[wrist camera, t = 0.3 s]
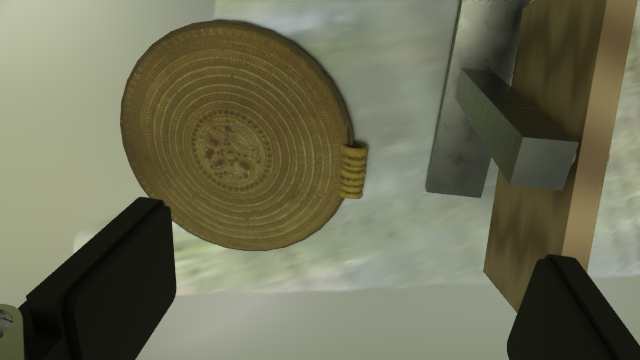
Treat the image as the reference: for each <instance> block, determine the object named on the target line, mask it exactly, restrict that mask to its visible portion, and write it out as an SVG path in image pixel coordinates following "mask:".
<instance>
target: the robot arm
mask: <svg viewBox="0 0 640 360" xmlns="http://www.w3.org/2000/svg"><path fill="white" fill-rule="evenodd" d="M175 295H176V274H175V260H174V246H173V232H172V217H171V209H170V207H169V206H165V203H164V201H163V200H161V199H154V198H146V197H139V198H137V199H136V200H135V201H134V202H133V203H132V204H130V205H129V206H128V207H127V208H126V209H125V210H124V211H122V212H121V213H120V214H119V215H118V216H117V217H116V218H114V219H113V220H112V221H111V222H110V223H109V224H108V225H106V226H105V227H104V228H103V229H102V230H101V231H100V232H98V233H97V234H96V235H95V236H94V237H93V238H92V239H90V240H89V241H88V242H87V243H86V244H85V245H84V246H82V247H81V248H80V249H79V250H78V251H77V252H76V253H74V254H73V255H72V256H71V257H70V258H69V259H68V260H67V261H65V262H64V263H63V264H62V265H61V266H60V267H59V268H58V269H56V270H55V271H54V272H53V273H52V274H51V275H50V276H48V277H47V278H46V279H45V280H44V281H43V282H42V283H40V285H38V286H37V287H36V288H35V289H34V290H32V291H31V292H30V293H29V294H28V295H27V296H26V298H27V301H25V302H24V303H23V304H22V305H21V306H20V307H19V308H18V309H17V308H16V307H14V306H10V305H7V304H0V360H135V359H136V358H137V356H138V354H139V353H140V351H141V350H142V348H143V347H144V345H145V344H146V342H147V341H148V339H149V338H150V336H151V335H152V333H153V332H154V330H155V328H156V327H157V325H158V324H159V322H160V321H161V319H162V317H163V316H164V315H165V313H166V312H167V310H168V309H169V307H170V305H171V304H172V302H173V300H174V298H175ZM507 353H508V357H509V360H640V346H639V344H638V343H637V341H636V340H635V339H634V337H633V336H632V334H631V333H630V332H629V330H628V329H627V328H626V326H625V325H624V324H623V322H622V321H621V319H620V318H619V317H618V315H617V314H616V313H615V311H614V310H613V308H612V307H611V306H610V304H609V303H608V301H607V300H606V299H605V298H604V296H603V295H602V293H601V292H600V290H599V289H598V288H597V286H596V285H595V284H594V282H593V281H592V279H591V278H590V277H589V275H588V274H587V273H586V271H585V270H584V268H583V267H582V266H581V264H580V263H579V262H578V260H577V259H576V258H574V257H568V256H561V255H554V254H548V255H546V257H545V258H544V259H538V260H537V262H536V264H535V267H534V270H533V272H532V275H531V278H530V280H529V283H528V286H527V289H526V291H525V294H524V297H523V300H522V302H521V305H520V308H519V311H518V313H517V316H516V319H515V321H514V324H513V327H512V330H511V333H510V335H509V338H508V341H507Z"/></svg>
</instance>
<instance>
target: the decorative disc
mask: <svg viewBox="0 0 640 360" xmlns="http://www.w3.org/2000/svg"><path fill="white" fill-rule="evenodd" d="M120 127H121V134H122V141H123V146H124V149H125V152H126V155H127V158H128V161H129V164H130V166H131V169H132V170H133V173H134V175H135V177H136V178H137V180H138V182H139V184H140V186H141V187H142V189H143V190H144V191H145V192H146V194H147V195H148V196H149V198H154V199H161V200H163V201H164V203H165V206H169V207H170V209H171V217H172V221H173V222H175V223H176V224H178V225H179V226H180V227H182V228H183V229H184V230H186V231H187V232H189V233H191V234H193V235H194V236H196V237H199V238H201V239H203V240H205V241H207V242H210V243H213V244H216V245H219V246H222V247H225V248H230V249H236V250H243V251H268V250H273V249H279V248H284V247H287V246H290V245H292V244H295V243H297V242H300V241H303V240H305V239H306V238H308V237H309V236H311V235H312V234H314V233H315V232H317V231H318V230H320V229H321V228H322V227H323V226H324V225H325V224H326V223H327V222H328V221H329V220H330V219H331V218H332V217H333V216H334V215H335V213H336V212H337V210H338V208H339V207H340V205H341V204H342V202H343V200H344V199H345V198H349V199H360V198H361V197H362V196H363V193H362V189H363V188H364V186H363V183H364V176H365V174H366V171H365V167H366V162H367V158H366V156H367V154H368V147H367V146H366V145H365V144H362V143H359V142H354V139H353V129H352V126H351V123H350V120H349V116H348V113H347V110H346V106H345V105H344V103H343V101H342V99H341V97H340V95H339V93H338V91H337V90H336V88H335V86H334V84H333V82H332V81H331V80H330V79H329V78H328V76H327V75H326V74H325V73H324V71H323V70H322V69H321V68H320V66H319V65H318V64H317V63H316V62H315V61H314V60H313V59H312V58H311V57H309V56H308V55H307V54H306V53H305V52H303V51H302V50H301V49H300V48H299V47H297V46H296V45H295V44H294V43H292V42H290V41H288V40H286V39H284V38H283V37H281V36H279V35H277V34H275V33H274V32H272V31H270V30H267V29H263V28H260V27H257V26H254V25H251V24H248V23H245V22H234V21H224V20H214V21H206V22H199V23H192V24H190V25H187V26H184V27H182V28H179V29H176V30H174V31H171V32H170V33H168V34H167V35H165V36H164V37H162V38H161V39H159V40H158V41H156V42H155V43H154V44H152V45H151V46H150V47H149V49H148V50H147V51H146V52H145V53H144V54H143V55H142V56H141V58H140V59H139V60H138V61H137V63H136V65H135V67H134V68H133V70H132V72H131V74H130V76H129V78H128V80H127V83H126V87H125V90H124V94H123V98H122V102H121V117H120Z"/></svg>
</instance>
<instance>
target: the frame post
mask: <svg viewBox="0 0 640 360" xmlns="http://www.w3.org/2000/svg"><path fill="white" fill-rule="evenodd" d="M529 4H530V0H460V3H459V8H458V14H457V19H456V24H455V30H454V35H453V41H452V46H451V51H450V57H449V62H448V68H447V73H446V78H445V84H444V89H443V94H442V100H441V105H440V111H439V116H438V121H437V127H436V132H435V138H434V143H433V148H432V154H431V159H430V165H429V170H428V175H427V181H426V191H427V192H431V193H440V194H450V195H459V196H468V197H478V198H481V195H482V191H483V187H484V183H485V179H486V175H487V171H488V167H489V163H490V159H491V156H492V158H493V159H494V161H495V162H496V164H497V166H498V167H499V169H500V170H501V172H502V174H503V175H504V177H505V178H506V180H507V181H508V183H509V185H515V186H524V187H534V188H544V189H553V190H563V188H564V185H565V182H566V179H567V176H568V173H569V170H570V167H571V164H572V161H573V158H574V156H575V153H576V150H577V147H578V144H579V142H578V141H577V140H575V139H574V138H573V137H572V136H571V135H569V134H568V133H567V132H566V131H564V130H563V129H562V128H561V127H560V126H558V125H557V124H556V123H555V122H554V121H552V120H551V119H550V118H549V117H547V116H546V115H545V114H544V113H543V112H541V111H540V110H539V109H538V108H536V107H535V106H534V105H533V104H532V103H530V102H529V101H528V100H527V99H526V98H524V97H523V96H522V95H521V94H519V93H518V92H517V91H516V90H515V89H513V88H512V87H511V86H510V85H509V84H510V80H511V76H512V72H513V68H514V64H515V59H516V53H517V46H518V39H519V33H520V26H521V20H522V13H523V8H525V7H526V6H527V5H529Z"/></svg>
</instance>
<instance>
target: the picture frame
mask: <svg viewBox="0 0 640 360" xmlns="http://www.w3.org/2000/svg"><path fill="white" fill-rule="evenodd" d="M636 5H637V0H534V1H533V2H531V3H530V4H529V5H527V6H526V7H525V8H523V13H522V20H521V26H520V33H519V39H518V46H517V53H516V59H515V66H514V72H513V79H512V85H511V87H512V88H513V89H515V90H516V91H517V92H518V93H519V94H521V95H522V96H523V97H524V98H526V99H527V100H528V101H529V102H530V103H532V104H533V105H534V106H535V107H536V108H538V109H539V110H540V111H541V112H543V113H544V114H545V115H546V116H547V117H549V118H550V119H551V120H552V121H554V122H555V123H556V124H557V125H558V126H560V127H561V128H562V129H563V130H564V131H566V132H567V133H568V134H569V135H571V136H572V137H573V138H574V139H575V140H577V141H578V142H579V144H578V147H577V150H576V153H575V156H574V158H573V161H572V164H571V167H570V170H569V173H568V176H567V179H566V182H565V185H564V188H563V190H553V189H544V188H534V187H524V186H515V185H509V183H508V181H507V180H506V178H505V177H504V175H503V174H502V172H501V170H500V169H499V171H498V177H497V184H496V191H495V197H494V204H493V210H492V217H491V224H490V230H489V237H488V243H487V250H486V256H485V263H484V270H483V272H484V273H485V274H486V276H487V277H488V278H489V279H490V280H491V282H492V283H493V284H494V285H495V286H496V288H497V289H498V290H499V291H500V293H501V294H502V295H503V296H504V297H505V299H506V300H507V301H508V302H509V303H510V305H511V306H512V307H513V308H514V310H515V311H516V312H517V313H518V311H519V308H520V305H521V302H522V300H523V297H524V294H525V291H526V289H527V286H528V283H529V280H530V278H531V275H532V272H533V270H534V267H535V264H536V262H537V260H538V259H544V258H545V257H546V255H548V254H554V255H561V256H568V257H574V258H576V259H577V260H578V262H579V263H580V264H581V266H582V267H583V268H584V270H585V271H586V273H587V268H588V263H589V257H590V252H591V247H592V241H593V236H594V231H595V225H596V220H597V214H598V209H599V204H600V198H601V193H602V188H603V182H604V177H605V172H606V166H607V164H608V162H609V158H610V155H609V150H610V145H611V139H612V134H613V129H614V123H615V118H616V113H617V107H618V102H619V97H620V91H621V86H622V80H623V75H624V70H625V64H626V59H627V54H628V48H629V43H630V38H631V32H632V27H633V21H634V16H635V11H636Z"/></svg>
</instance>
